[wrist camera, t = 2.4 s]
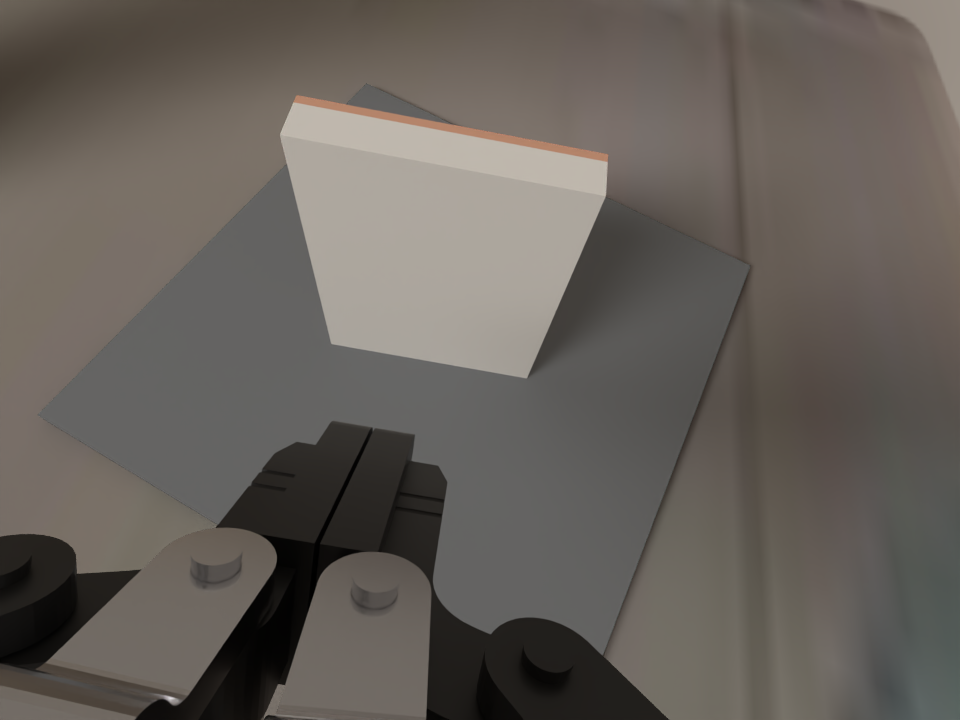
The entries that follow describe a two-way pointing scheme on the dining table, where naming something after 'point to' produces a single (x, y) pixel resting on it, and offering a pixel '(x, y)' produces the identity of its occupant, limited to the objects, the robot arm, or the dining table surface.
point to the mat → (431, 402)
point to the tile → (438, 232)
